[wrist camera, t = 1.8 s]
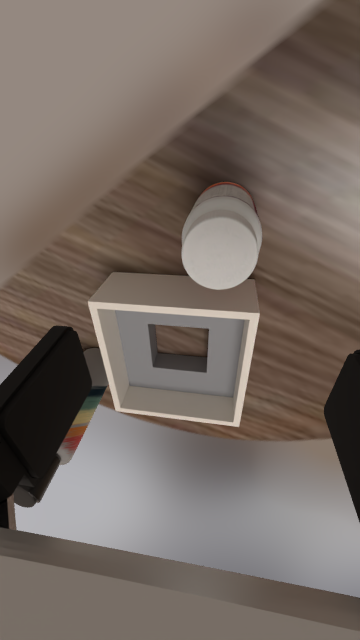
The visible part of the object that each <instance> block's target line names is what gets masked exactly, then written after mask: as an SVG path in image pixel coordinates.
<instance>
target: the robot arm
mask: <svg viewBox="0 0 360 640" xmlns="http://www.w3.org/2000/svg"><path fill="white" fill-rule="evenodd" d="M91 387H92V379H91V376H90V372H89V369H88V366H87V363H86V360H85V356H84V353H83V350H82V347H81V343H80V340H79V337H78V334H77V332H76V331H74V330H73V328H72V327H67V326H53V327H52V328H51V329H50V330H49V331H48V333H47V334H46V335H45V336H44V337H43V338H42V339H41V340H40V341H39V343H38V344H37V345H36V346H35V347H34V348H33V349H32V350H31V351H30V352H29V354H28V355H27V356H26V357H25V358H24V359H23V360H22V361H21V362H20V364H19V365H18V366H17V367H16V368H15V369H14V370H13V371H12V373H11V374H10V375H9V376H8V377H7V378H6V379H5V380H4V381H3V382H2V383H1V385H0V640H360V598H358V597H353V596H349V595H344V594H339V593H334V592H329V591H324V590H319V589H314V588H309V587H304V586H299V585H294V584H289V583H284V582H279V581H274V580H269V579H264V578H260V577H254V576H250V575H244V574H240V573H235V572H230V571H225V570H219V569H214V568H209V567H204V566H198V565H194V564H189V563H184V562H179V561H174V560H168V559H163V558H158V557H153V556H148V555H143V554H138V553H132V552H128V551H123V550H118V549H112V548H107V547H102V546H97V545H92V544H86V543H81V542H76V541H71V540H65V539H60V538H55V537H50V536H45V535H39V534H34V533H29V532H23V531H18V530H16V520H15V508H14V496H13V493H14V491H15V489H16V488H17V486H18V484H19V485H25V486H31V487H34V486H35V485H36V483H37V481H38V479H39V478H41V477H43V476H44V475H45V474H46V472H47V470H48V468H49V466H50V465H51V463H52V461H53V459H54V457H55V455H56V453H57V452H58V450H59V448H60V446H61V444H62V442H63V440H64V439H65V437H66V435H67V433H68V431H69V429H70V427H71V426H72V424H73V422H74V420H75V418H76V416H77V414H78V413H79V411H80V409H81V407H82V405H83V403H84V401H85V400H86V398H87V396H88V394H89V392H90V390H91ZM324 415H325V419H326V422H327V425H328V428H329V431H330V434H331V437H332V440H333V443H334V446H335V449H336V452H337V455H338V458H339V461H340V464H341V467H342V470H343V473H344V476H345V479H346V482H347V485H348V488H349V491H350V494H351V497H352V501H353V504H354V507H355V510H356V513H357V516H358V518H359V522H360V350H356V351H355V352H354V353H353V354H349V355H348V357H347V359H346V361H345V363H344V365H343V367H342V369H341V372H340V374H339V376H338V378H337V380H336V382H335V385H334V387H333V389H332V391H331V393H330V395H329V397H328V400H327V402H326V404H325V407H324Z"/></svg>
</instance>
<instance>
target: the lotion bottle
mask: <svg viewBox="0 0 360 640" xmlns="http://www.w3.org/2000/svg"><path fill="white" fill-rule="evenodd" d="M83 353H84V356H85V360H86V363H87V366H88V369H89V372H90V376H91V379H92V387H91V390H90V392H89V394H88V396H87V398H86V400H85V401H84V403H83V405H82V407H81V409H80V411H79V413H78V414H77V416H76V418H75V420H74V422H73V424H72V426H71V427H70V429H69V431H68V433H67V435H66V437H65V439H64V440H63V442H62V444H61V446H60V448H59V450H58V452H57V453H56V455H55V457H54V459H53V461H52V463H51V465H50V466H49V468H48V470H47V472H46V474H45V475H44V476H43V477H41V478H39V479H38V481H37V483H36V485H35V486H34V487H31V486H25V485H19V484H18V486H17V488H16V489H15V491H14V493H13V496H14V503H16V504H18V505H20V506H22V507H32V506H34V504H35V503H36V502H37V503H39V502H40V501H41V499H42V497H43V495H44V493H45V491H46V489H47V488H48V486H49V484H50V482H51V480H52V478H53V476H54V474H55V472H56V470H57V469H58V467H59V465H64V464H67V463H68V462H69V461H70V460H71V458H72V456H73V455H74V453H75V450H76V449H77V447H78V445H79V442H80V441H81V438H82V437H83V434H84V432H85V430H86V428H87V426H88V424H89V422H90V420H91V418H92V416H93V414H94V412H95V410H96V408H97V406H98V404H99V402H100V400H101V398H102V396H103V394H104V392H105V390H106V387H107V385H108V383H109V382H108V378H107V374H106V371H105V367H104V363H103V359H102V355H101V351H100V349H99V348H90V349H87V350H86V351H84V352H83Z"/></svg>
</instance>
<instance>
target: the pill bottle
mask: <svg viewBox="0 0 360 640" xmlns="http://www.w3.org/2000/svg"><path fill="white" fill-rule="evenodd" d="M261 243H262V227H261V223H260V219H259V216H258V214H257V210H256V207H255V204H254V201H253V199H252V197H251V195H250V194H249V192H248V191H247V190H246V189H244V188H243V187H242V186H240V185H238V184H236V183H232V182H220V183H216V184H214V185H212V186H210V187H208V188H207V189H206V190H204V191H203V192H202V194H201V195H200V196H199V198H198V199H197V201H196V203H195V204H194V206H193V208H192V210H191V212H190V214H189V215H188V217H187V219H186V222H185V224H184V227H183V231H182V262H183V265H184V268H185V270H186V271H187V273H188V274H189V276H190V277H191V278H192V279H193V280H194V281H195V282H197V283H198V284H200V285H202V286H204V287H206V288H210V289H216V290H221V289H228V288H232V287H235V286H237V285H239V284H240V283H242V282H243V281H245V280H246V279H247V278H248V277H249V276H250V274H251V273H252V272H253V270H254V268H255V266H256V263H257V260H258V253H259V250H260V247H261Z"/></svg>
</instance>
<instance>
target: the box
mask: <svg viewBox="0 0 360 640" xmlns="http://www.w3.org/2000/svg"><path fill="white" fill-rule="evenodd" d="M88 304H89V308H90V312H91V316H92V320H93V324H94V328H95V332H96V336H97V339H98V343H99V347H100V351H101V355H102V359H103V363H104V367H105V371H106V374H107V378H108V382H109V386H110V390H111V394H112V398H113V402H114V405H115V409H116V411H120V412H128V413H136V414H143V415H151V416H159V417H167V418H174V419H182V420H190V421H198V422H205V423H213V424H221V425H228V426H236V427H239V424H240V418H241V413H242V407H243V402H244V396H245V391H246V386H247V380H248V375H249V369H250V364H251V358H252V353H253V347H254V342H255V337H256V331H257V326H258V320H259V315H260V312H259V305H258V298H257V291H256V285H255V279H246V280H245V281H243V282H242V283H240V284H239V285H237V286H235V287H232V288H228V289H221V290H216V289H210V288H206V287H204V286H202V285H200V284H198V283H197V282H195V281H194V280H193V279H192V278H191V277H190V276H181V275H161V274H142V273H123V272H112V273H111V274H110V276H109V277H108V278H107V279H106V280H105V282H104V283H103V284H102V285H101V286H100V287H99V289H98V290H97V291H96V292H95V293H94V295H93V296H92V297H91V298H90V299H89V300H88ZM155 324H157V325H170V326H182V327H195V328H208V329H209V339H208V358H207V357H196V356H185V355H175V354H164V353H157V342H156V331H155Z"/></svg>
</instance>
